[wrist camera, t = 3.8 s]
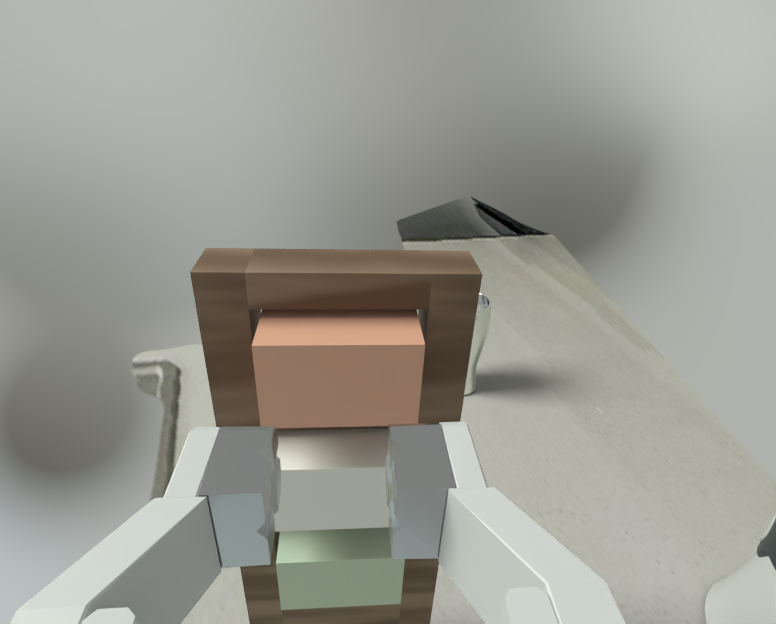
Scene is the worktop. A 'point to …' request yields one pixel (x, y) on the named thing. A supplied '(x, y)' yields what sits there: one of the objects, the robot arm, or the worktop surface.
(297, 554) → the sage key
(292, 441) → the cream key
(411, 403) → the terracotta key
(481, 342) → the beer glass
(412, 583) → the key panel
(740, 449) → the worktop surface
